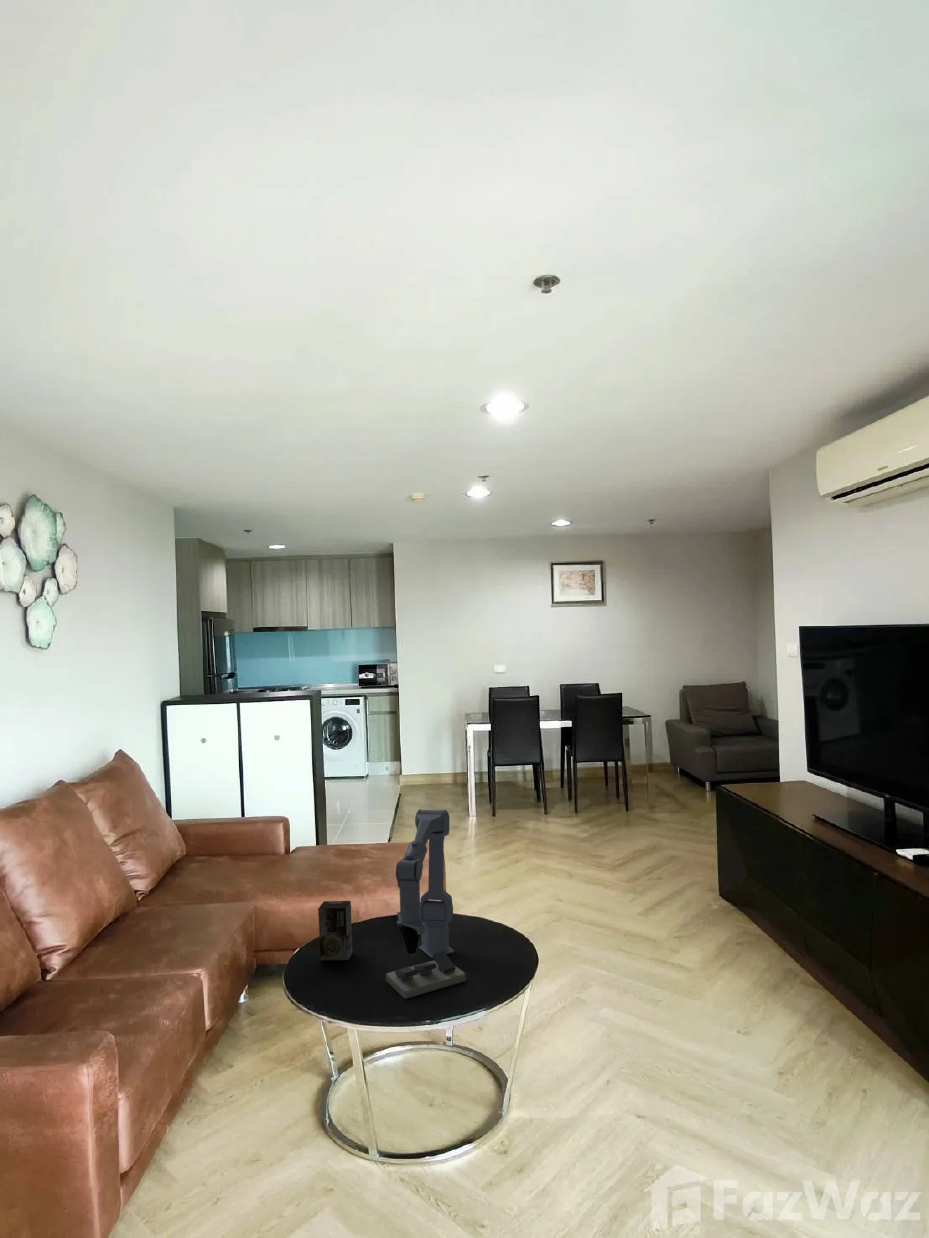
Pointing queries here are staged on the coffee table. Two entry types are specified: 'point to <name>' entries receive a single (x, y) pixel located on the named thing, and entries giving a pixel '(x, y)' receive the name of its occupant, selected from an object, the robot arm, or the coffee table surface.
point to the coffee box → (335, 930)
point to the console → (424, 981)
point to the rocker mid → (425, 966)
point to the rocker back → (444, 962)
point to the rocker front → (406, 972)
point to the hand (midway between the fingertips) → (411, 952)
